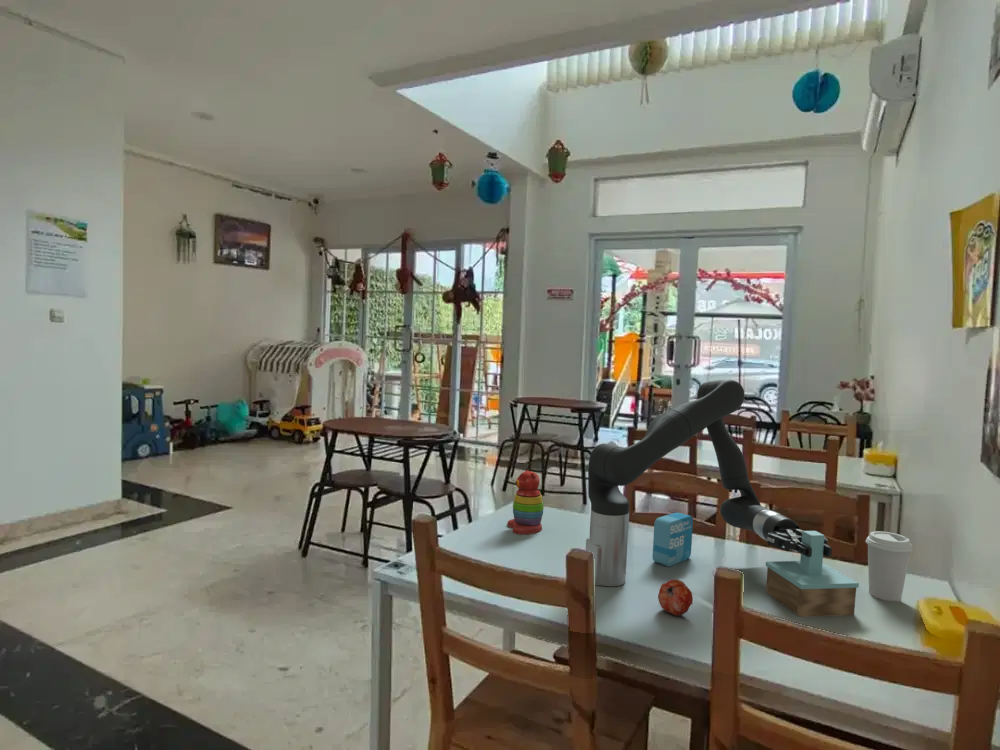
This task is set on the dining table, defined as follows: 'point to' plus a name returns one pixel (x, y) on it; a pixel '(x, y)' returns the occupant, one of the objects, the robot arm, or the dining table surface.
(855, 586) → the lid
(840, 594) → the box
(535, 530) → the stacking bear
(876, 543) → the coffee cup
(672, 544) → the data package
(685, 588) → the pomegranate
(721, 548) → the dining table surface
